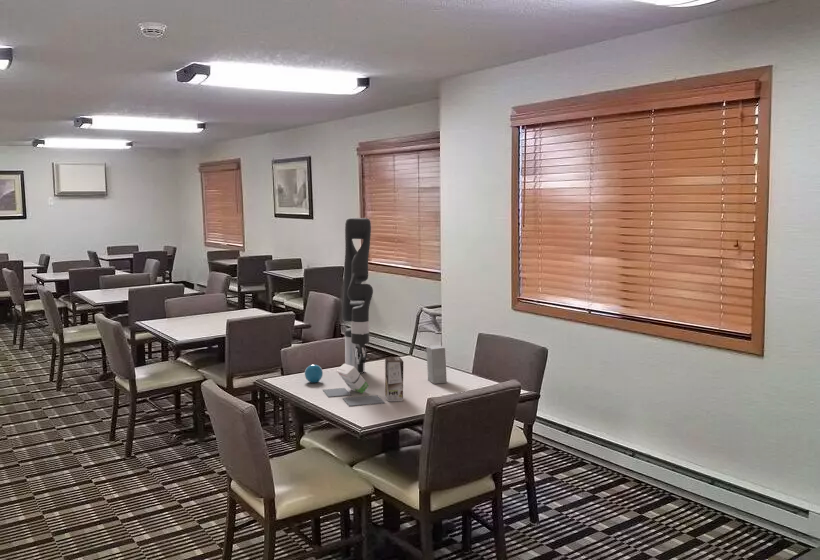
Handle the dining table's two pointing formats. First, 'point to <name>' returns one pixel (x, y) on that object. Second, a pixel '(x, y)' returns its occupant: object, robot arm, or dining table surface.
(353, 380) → the ink box
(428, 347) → the skincare box
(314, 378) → the ball
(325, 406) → the dining table surface
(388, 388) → the coffee box
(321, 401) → the dining table surface
